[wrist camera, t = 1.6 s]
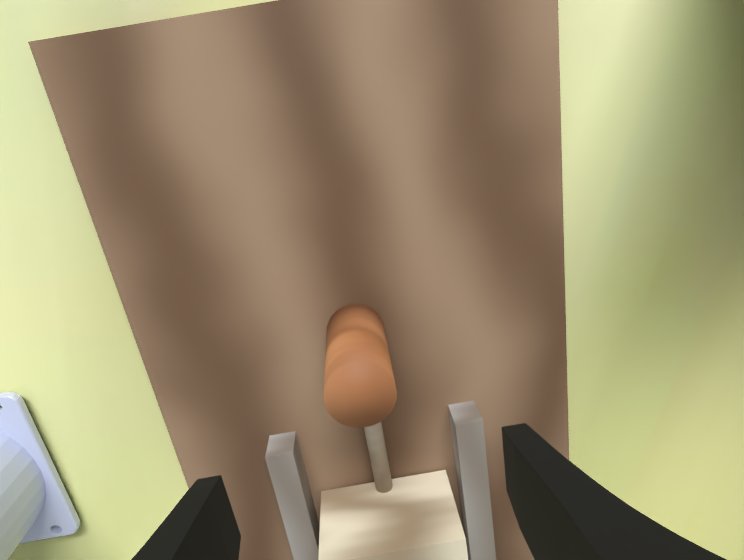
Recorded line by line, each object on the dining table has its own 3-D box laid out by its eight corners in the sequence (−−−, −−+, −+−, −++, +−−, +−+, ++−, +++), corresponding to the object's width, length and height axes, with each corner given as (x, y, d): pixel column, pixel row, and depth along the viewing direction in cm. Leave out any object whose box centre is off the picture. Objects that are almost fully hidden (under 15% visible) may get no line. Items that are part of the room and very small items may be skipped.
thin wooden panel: (273, 698, 30) (267, 748, 28) (44, 45, 18) (-1, 36, 15) (566, 646, 30) (586, 692, 28) (544, -39, 18) (576, -59, 15)
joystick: (339, 567, 26) (340, 673, 21) (278, 316, 21) (261, 380, 16) (455, 547, 26) (482, 648, 21) (422, 292, 21) (446, 348, 16)
